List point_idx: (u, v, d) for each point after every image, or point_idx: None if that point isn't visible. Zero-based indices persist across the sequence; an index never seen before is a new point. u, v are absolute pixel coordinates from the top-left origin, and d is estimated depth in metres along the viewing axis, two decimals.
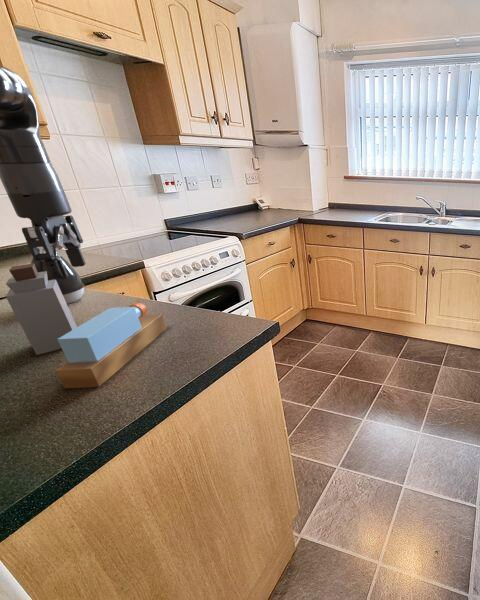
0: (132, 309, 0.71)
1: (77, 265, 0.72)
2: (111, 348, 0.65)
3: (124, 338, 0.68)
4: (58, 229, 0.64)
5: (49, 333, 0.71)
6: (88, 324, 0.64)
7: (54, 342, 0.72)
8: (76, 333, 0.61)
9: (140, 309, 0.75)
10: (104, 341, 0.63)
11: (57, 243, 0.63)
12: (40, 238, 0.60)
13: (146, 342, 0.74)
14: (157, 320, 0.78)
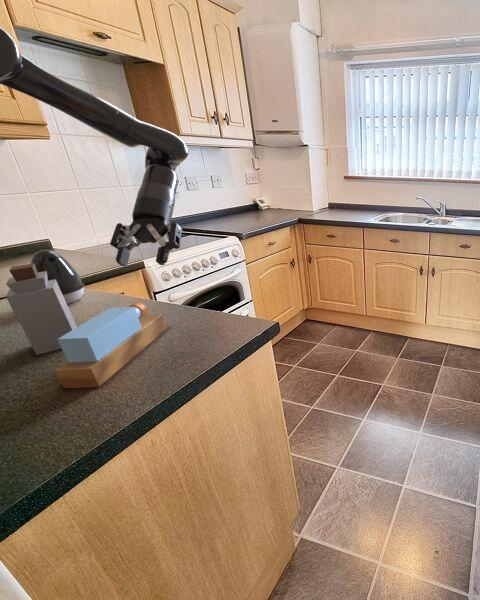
0: (132, 309, 0.71)
1: (123, 263, 0.77)
2: (111, 348, 0.65)
3: (124, 338, 0.68)
4: None
5: (49, 333, 0.71)
6: (88, 324, 0.64)
7: (54, 342, 0.72)
8: (76, 333, 0.61)
9: (140, 309, 0.75)
10: (104, 341, 0.63)
11: (167, 241, 0.81)
12: (180, 233, 0.81)
13: (146, 342, 0.74)
14: (157, 320, 0.78)
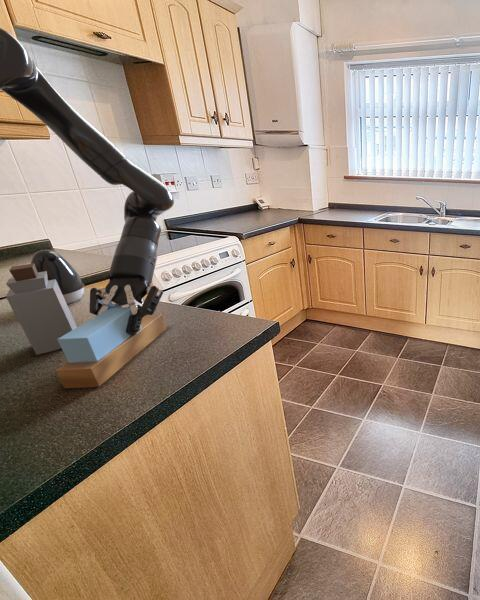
0: None
1: None
2: (111, 348, 0.65)
3: (124, 338, 0.68)
4: None
5: (49, 333, 0.71)
6: (88, 324, 0.64)
7: (54, 342, 0.72)
8: (76, 333, 0.61)
9: None
10: (104, 341, 0.63)
11: None
12: (159, 298, 0.73)
13: (146, 342, 0.74)
14: (157, 320, 0.78)
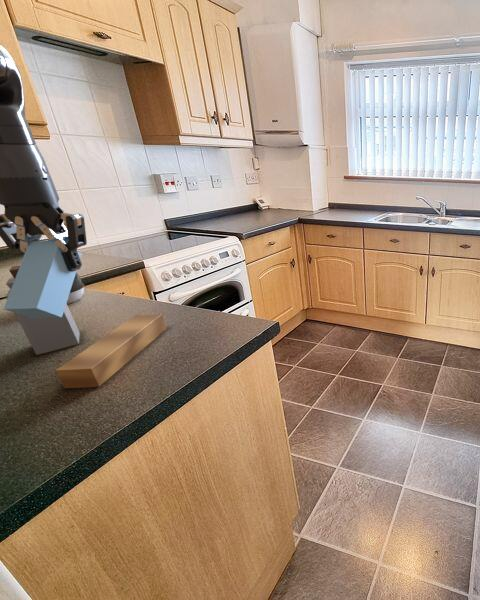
0: None
1: None
2: (66, 297, 0.62)
3: (72, 278, 0.63)
4: None
5: (49, 333, 0.71)
6: (23, 279, 0.58)
7: (54, 342, 0.72)
8: (18, 298, 0.56)
9: None
10: (55, 297, 0.60)
11: None
12: (83, 225, 0.61)
13: (146, 342, 0.74)
14: (157, 320, 0.78)
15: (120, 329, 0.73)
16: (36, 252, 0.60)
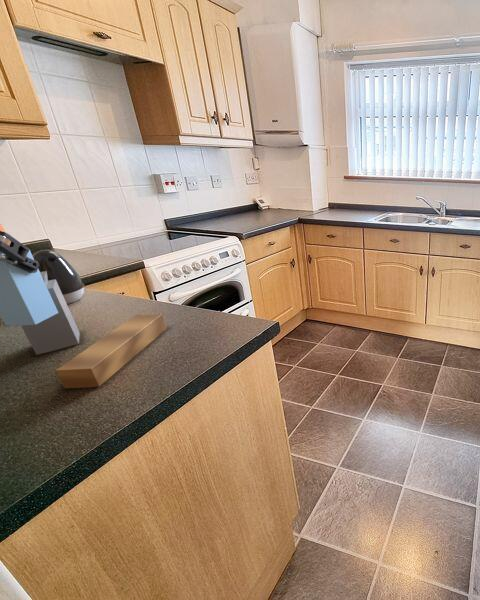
0: None
1: None
2: (48, 295, 0.64)
3: (39, 277, 0.62)
4: None
5: (49, 333, 0.71)
6: None
7: (54, 342, 0.72)
8: (11, 316, 0.60)
9: None
10: (41, 304, 0.62)
11: None
12: (13, 240, 0.54)
13: (146, 342, 0.74)
14: (157, 320, 0.78)
15: (120, 329, 0.73)
16: None
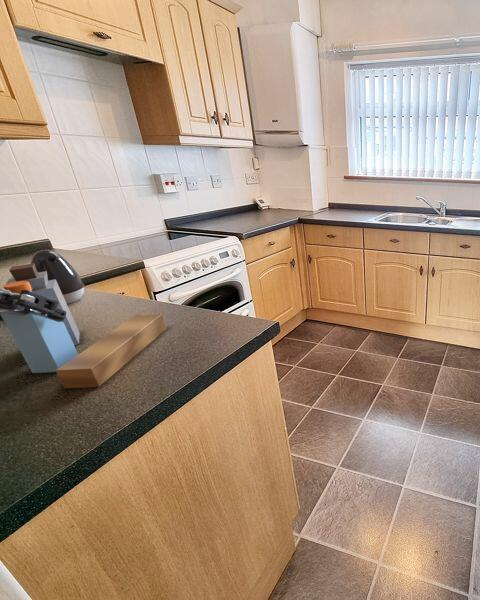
0: None
1: None
2: (70, 342, 0.68)
3: (63, 326, 0.67)
4: (4, 291, 0.57)
5: None
6: (26, 349, 0.63)
7: None
8: (37, 364, 0.64)
9: None
10: (64, 351, 0.67)
11: None
12: (38, 296, 0.57)
13: (146, 342, 0.74)
14: (157, 320, 0.78)
15: (120, 329, 0.73)
16: (16, 324, 0.61)
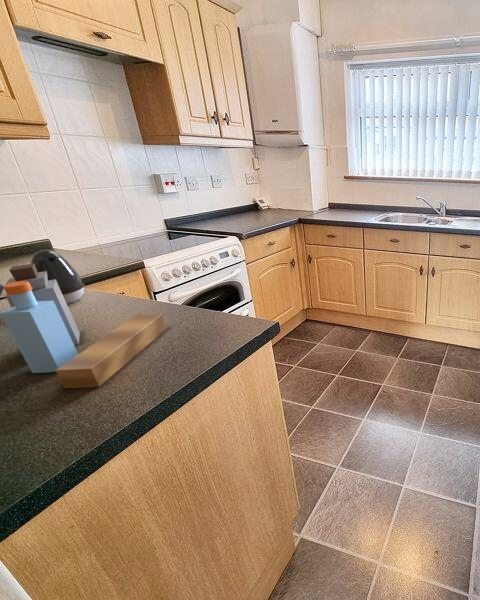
0: (32, 314, 0.61)
1: None
2: (70, 342, 0.68)
3: (63, 326, 0.67)
4: None
5: None
6: (26, 349, 0.63)
7: None
8: (37, 364, 0.64)
9: (25, 292, 0.61)
10: (64, 351, 0.67)
11: None
12: None
13: (146, 342, 0.74)
14: (157, 320, 0.78)
15: (120, 329, 0.73)
16: (16, 324, 0.61)
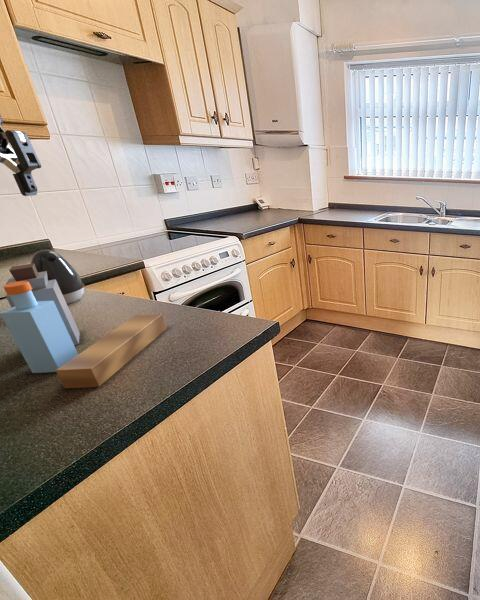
0: (32, 314, 0.61)
1: None
2: (70, 342, 0.68)
3: (63, 326, 0.67)
4: None
5: None
6: (26, 349, 0.63)
7: None
8: (37, 364, 0.64)
9: (25, 292, 0.61)
10: (64, 351, 0.67)
11: None
12: (29, 143, 0.58)
13: (146, 342, 0.74)
14: (157, 320, 0.78)
15: (120, 329, 0.73)
16: (16, 324, 0.61)
